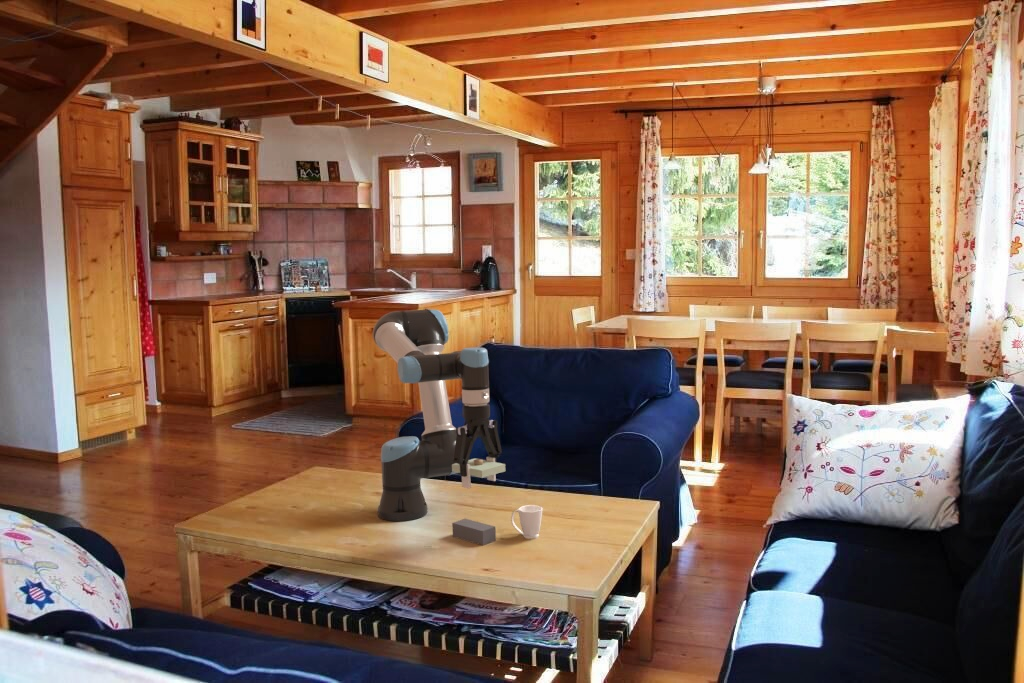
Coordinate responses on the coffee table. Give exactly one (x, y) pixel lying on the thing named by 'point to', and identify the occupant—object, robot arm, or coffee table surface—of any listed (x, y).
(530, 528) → the cup
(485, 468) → the lid
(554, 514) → the coffee table surface
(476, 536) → the block
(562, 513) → the coffee table surface
